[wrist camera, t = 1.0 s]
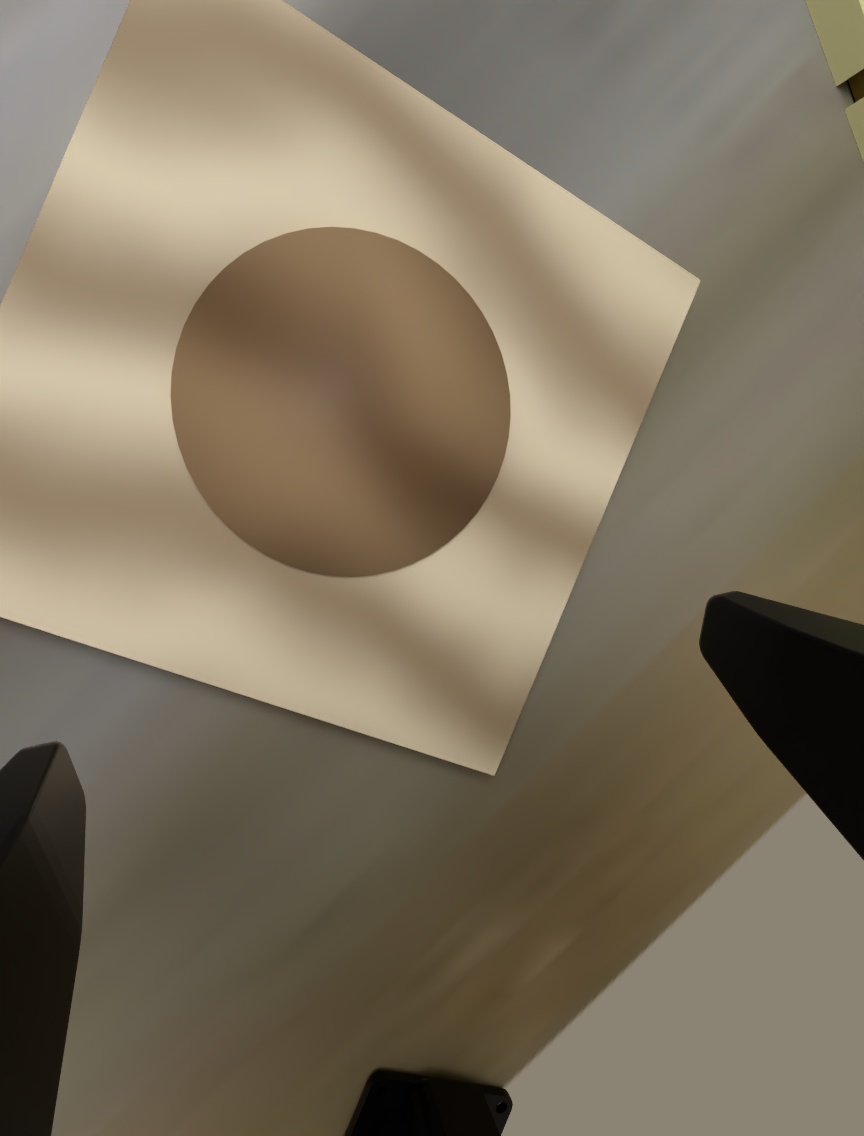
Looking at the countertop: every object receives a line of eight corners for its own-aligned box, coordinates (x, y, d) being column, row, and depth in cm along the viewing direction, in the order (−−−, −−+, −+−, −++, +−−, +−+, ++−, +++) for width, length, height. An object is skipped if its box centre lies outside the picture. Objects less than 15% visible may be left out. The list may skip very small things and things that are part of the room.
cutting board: (480, 760, 26) (496, 777, 24) (-91, 573, 20) (-120, 580, 18) (675, 292, 26) (704, 278, 24) (168, -38, 20) (163, -85, 18)
